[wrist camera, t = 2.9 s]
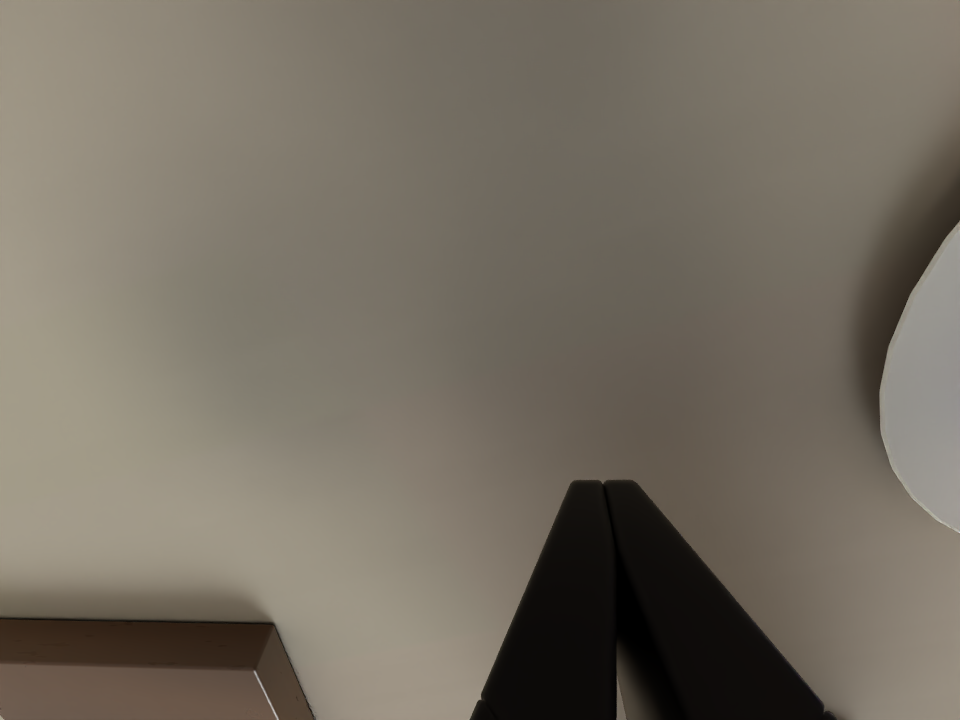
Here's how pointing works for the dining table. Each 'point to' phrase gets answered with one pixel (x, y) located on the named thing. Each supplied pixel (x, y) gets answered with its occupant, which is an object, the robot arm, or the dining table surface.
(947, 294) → the pudding
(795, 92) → the dining table surface
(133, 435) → the dining table surface
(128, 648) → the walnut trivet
